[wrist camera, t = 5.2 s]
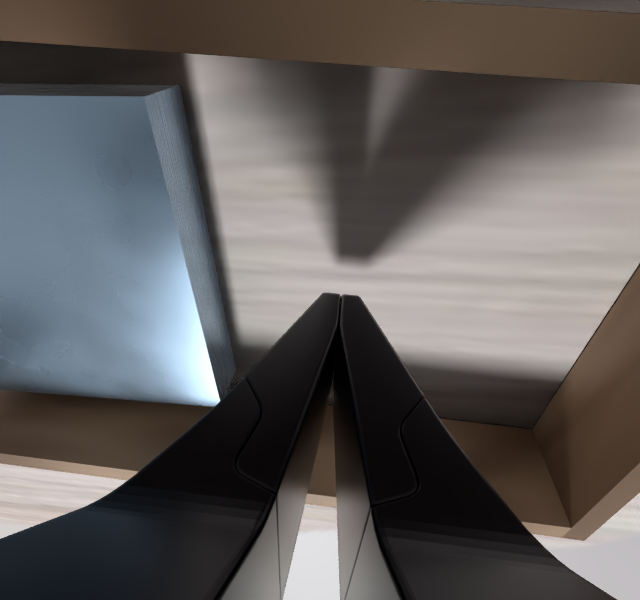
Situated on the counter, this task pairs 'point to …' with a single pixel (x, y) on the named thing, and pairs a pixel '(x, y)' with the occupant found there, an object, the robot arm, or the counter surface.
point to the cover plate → (106, 248)
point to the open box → (397, 52)
